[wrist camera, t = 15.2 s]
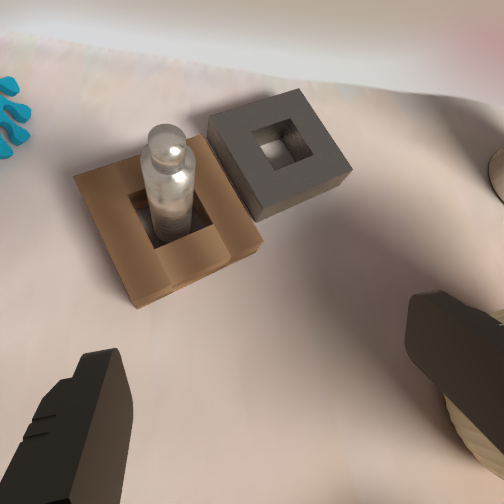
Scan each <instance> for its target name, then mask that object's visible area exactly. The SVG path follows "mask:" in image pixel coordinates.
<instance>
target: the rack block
mask: <svg viewBox="0 0 504 504" xmlns="http://www.w3.org/2000/svg"><path fill="white" fill-rule="evenodd" d="M186 145H188V146H189V147H190V149H191V150H192V151H193V153H194V156H195V160H196V165H195V178H194V192H193V206H194V208H195V210H196V212H197V214H198V215H199V217H200V219H201V221H202V223H203V225H204V226H205V228H203V229H201V230H198V231H196V232H194V233H191V234H189V235H187V236H184V237H182V238H180V239H178V240H175V241H173V242H171V243H168V244H166V245H164V246H161V247H159V248H157V249H154V248H153V246H152V244H151V242H150V240H149V238H148V236H147V234H146V232H145V230H144V228H143V226H142V224H141V222H140V220H139V218H138V216H137V214H136V212H135V210H137V209H139V208H142V207H145V206H147V205H149V203H148V198H147V193H146V188H145V183H144V178H143V173H142V168H141V162H140V157H141V154H140V155H137V156H134V157H131V158H128V159H125V160H122V161H119V162H116V163H113V164H110V165H107V166H104V167H101V168H98V169H95V170H92V171H88V172H85V173H82V174H79V175H76V176H73V177H74V180H75V182H76V184H77V186H78V188H79V190H80V192H81V194H82V197H83V199H84V201H85V203H86V205H87V207H88V209H89V211H90V214H91V216H92V218H93V220H94V222H95V224H96V226H97V229H98V231H99V233H100V235H101V237H102V239H103V241H104V243H105V246H106V248H107V250H108V252H109V254H110V256H111V258H112V260H113V263H114V265H115V267H116V269H117V271H118V273H119V275H120V278H121V280H122V282H123V284H124V286H125V288H126V290H127V292H128V295H129V297H130V299H131V301H132V303H133V304H134V306H135V307H136V308H137V309H139V308H141V307H144V306H146V305H148V304H150V303H152V302H154V301H156V300H158V299H160V298H162V297H164V296H166V295H168V294H170V293H172V292H175V291H177V290H179V289H181V288H183V287H185V286H187V285H189V284H191V283H193V282H195V281H197V280H199V279H201V278H203V277H206V276H208V275H210V274H212V273H214V272H216V271H218V270H220V269H222V268H224V267H226V266H228V265H230V264H232V263H234V262H237V261H239V260H241V259H243V258H245V257H247V256H249V255H251V254H253V253H255V252H256V251H257V249H258V248H259V246H260V245H261V243H262V242H263V240H262V238H261V236H260V234H259V233H258V231H257V229H256V228H255V226H254V224H253V222H252V221H251V219H250V217H249V215H248V214H247V212H246V210H245V208H244V207H243V205H242V203H241V201H240V200H239V198H238V196H237V194H236V193H235V191H234V189H233V188H232V186H231V184H230V182H229V181H228V179H227V177H226V175H225V174H224V172H223V170H222V168H221V167H220V165H219V163H218V161H217V160H216V158H215V156H214V154H213V153H212V151H211V149H210V148H209V146H208V144H207V142H206V141H205V139H204V137H203V135H202V134H201V135H198V136H195V137H192V138H189V139H186Z"/></svg>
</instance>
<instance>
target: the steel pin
mask: <svg viewBox="0 0 504 504" xmlns="http://www.w3.org/2000/svg"><path fill="white" fill-rule="evenodd" d="M140 162H141V168H142V173H143V178H144V183H145V188H146V193H147V198H148V203H149V208H150V213H151V218H152V223H153V228H154V231H155V233H156V235H157V236H158V237H159V238H160V239H161V240H163V241H165V242H170V243H171V242H173V241H175V240H178V239H180V238H182V237H184V236H187V235H188V234H189V232H190V230H191V219H192V205H193V192H194V178H195V165H196V160H195V156H194V153H193V151H192V150H191V149H190V147H189V146H188V145H186V137H185V134H184V133H183V131H182V130H181V129H179V128H178V127H176V126H174V125H171V124H160V125H157V126H155V127H154V128H153V129H151V131H150V132H149V135H148V144H147V145H146V146H145V148H144V149H143V151H142V153H141V157H140Z"/></svg>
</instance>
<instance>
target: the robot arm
mask: <svg viewBox="0 0 504 504" xmlns="http://www.w3.org/2000/svg"><path fill="white" fill-rule="evenodd" d="M489 176H490V180H491V183H492V185H493V187H494V189H495V191H496V192H497V194H498V196H499V197H500V198H501V199H502V200H503V202H504V148H503V149H501V150H500V151H498V152H497V153H496V154H495V155H494V156H493V157H492V159H491V161H490V164H489ZM405 347H406V351H407V353H408V355H409V357H410V359H411V360H412V362H413V363H414V364H415V365H416V366H417V367H418V368H419V369H420V370H421V371H422V372H423V373H424V374H425V375H426V376H427V377H428V378H429V379H430V380H431V381H432V382H433V383H434V384H435V385H436V386H437V387H438V388H439V389H440V390H441V391H442V392H443V393H444V395H445V396H446V397H447V398H448V399H449V400H450V401H451V402H452V403H453V404H454V405H455V406H456V407H457V408H458V409H459V410H460V411H461V412H462V413H463V414H464V415H465V416H466V417H467V418H468V419H469V420H470V421H471V422H472V423H473V424H474V425H475V426H476V427H477V428H478V429H479V430H480V431H481V432H482V433H483V434H484V436H485V437H486V438H487V439H488V440H489V441H490V442H491V443H492V444H493V445H494V446H495V447H496V448H497V449H498V450H499V451H500V452H501V453H502V454H503V455H504V326H503V323H501V322H500V321H498V320H496V319H495V318H493V317H491V316H490V315H488V314H487V313H485V312H483V311H480V310H477V309H475V308H472V307H469V306H467V305H465V304H464V303H462V302H460V301H459V300H457V299H456V298H454V297H452V296H451V295H449V294H448V293H446V292H444V291H442V290H437V291H431V292H426V293H420V294H415V295H413V296H412V297H411V298H410V301H409V307H408V316H407V324H406V333H405ZM132 424H133V401H132V395H131V391H130V388H129V384H128V381H127V377H126V373H125V370H124V366H123V363H122V359H121V355H120V353H119V350H118V349H117V348H112V349H107V350H101V351H96V352H90V353H85V354H83V355H82V356H81V358H80V361H79V363H78V365H77V368H76V370H75V372H74V375H73V377H72V378H67V379H62V380H60V381H59V382H58V383H57V384H56V385H55V386H54V387H53V388H52V389H51V390H50V391H49V392H48V393H47V394H46V395H45V396H44V397H43V398H42V400H41V402H40V404H39V406H38V408H37V410H36V412H35V414H34V416H33V418H32V423H31V424H29V426H28V428H27V430H26V432H25V434H24V436H23V442H20V444H19V446H18V448H17V450H16V452H15V454H14V456H13V458H12V460H11V462H10V464H9V466H8V468H7V470H6V472H5V474H4V476H3V478H2V480H1V482H0V504H120V499H121V493H122V486H123V480H124V474H125V467H126V461H127V455H128V449H129V442H130V436H131V430H132Z"/></svg>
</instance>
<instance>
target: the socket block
mask: <svg viewBox="0 0 504 504" xmlns="http://www.w3.org/2000/svg"><path fill="white" fill-rule="evenodd" d="M207 138H208V140H209V142H210V144H211V145H212V147H213V149H214V151H215V152H216V154H217V156H218V157H219V159H220V161H221V163H222V164H223V166H224V168H225V170H226V171H227V173H228V175H229V177H230V178H231V180H232V182H233V183H234V185H235V187H236V189H237V190H238V192H239V194H240V196H241V197H242V199H243V201H244V202H245V204H246V206H247V208H248V209H249V211H250V213H251V215H252V216H253V218H254V220H255V222H259V221H261V220H263V219H265V218H268V217H270V216H272V215H274V214H276V213H279V212H281V211H283V210H285V209H288V208H290V207H292V206H294V205H296V204H299V203H301V202H303V201H305V200H308V199H310V198H312V197H314V196H316V195H319V194H321V193H323V192H325V191H328V190H330V189H332V188H334V187H336V186H339V185H340V184H341V182H342V181H343V180H344V179H345V178H346V177H347V176H348V175H349V173H350V172H351V171H352V170H353V169H352V167H351V166H350V164H349V163H348V161H347V160H346V158H345V157H344V155H343V154H342V152H341V151H340V149H339V148H338V146H337V145H336V143H335V142H334V140H333V139H332V137H331V136H330V134H329V133H328V131H327V130H326V128H325V127H324V125H323V124H322V122H321V121H320V119H319V118H318V116H317V115H316V113H315V112H314V110H313V109H312V107H311V106H310V104H309V103H308V101H307V100H306V98H305V97H304V95H303V94H302V92H301V91H300V89H299V88H298V89H295V90H292V91H289V92H285V93H282V94H279V95H276V96H273V97H269V98H266V99H263V100H260V101H256V102H253V103H250V104H247V105H244V106H240V107H237V108H234V109H231V110H228V111H224V112H221V113H218V114H215V115H211V116H209V123H208V132H207ZM280 138H282V140H283V141H284V143H285V145H286V146H287V148H288V149H289V151H290V152H291V154H292V156H293V157H294V159H295V160H296V162H295V163H293V164H290V165H288V166H285V167H283V168H280V169H278V170H274V169H273V167H272V165H271V164H270V162H269V160H268V159H267V157H266V155H265V154H264V152H263V151H262V149H261V147H260V146H261V145H263V144H266V143H269V142H272V141H274V140H277V139H280Z"/></svg>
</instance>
